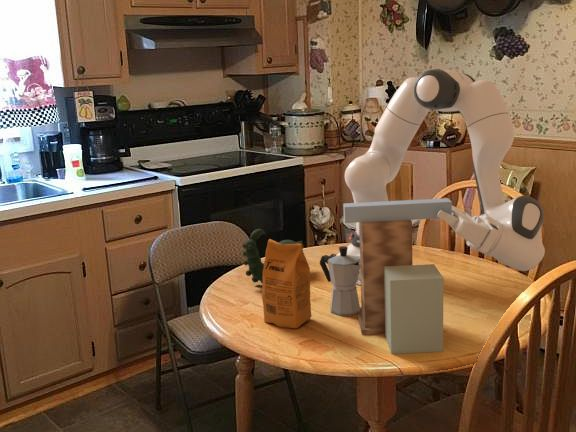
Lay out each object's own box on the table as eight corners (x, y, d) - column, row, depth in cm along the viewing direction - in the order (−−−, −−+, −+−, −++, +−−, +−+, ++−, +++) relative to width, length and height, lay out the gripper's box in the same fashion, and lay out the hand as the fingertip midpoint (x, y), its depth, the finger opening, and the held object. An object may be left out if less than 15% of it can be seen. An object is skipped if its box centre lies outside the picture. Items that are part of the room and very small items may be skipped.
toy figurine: (264, 298, 196) (316, 267, 214) (256, 237, 190) (310, 211, 208) (241, 291, 202) (294, 262, 220) (232, 233, 196) (287, 208, 214)
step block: (391, 353, 152) (390, 280, 148) (385, 335, 162) (384, 266, 157) (443, 351, 152) (443, 278, 147) (433, 333, 161) (434, 264, 157)
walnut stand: (361, 334, 163) (358, 226, 156) (357, 317, 174) (354, 215, 167) (418, 331, 163) (417, 223, 156) (410, 314, 174) (409, 212, 167)
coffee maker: (373, 310, 178) (372, 247, 173) (352, 320, 172) (350, 255, 168) (332, 298, 188) (330, 238, 184) (311, 307, 182) (308, 245, 178)
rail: (345, 223, 160) (344, 207, 159) (343, 219, 164) (343, 203, 163) (451, 217, 159) (451, 201, 158) (447, 213, 163) (447, 198, 162)
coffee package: (280, 309, 182) (276, 233, 176) (317, 318, 174) (313, 239, 169) (257, 322, 174) (252, 243, 169) (294, 332, 167) (290, 249, 161)
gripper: (477, 211, 172) (431, 188, 170) (501, 232, 152) (449, 206, 151) (464, 232, 173) (419, 209, 172) (487, 255, 153) (436, 229, 152)
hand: (433, 208), depth 161 cm, fingers open, 8 cm apart
